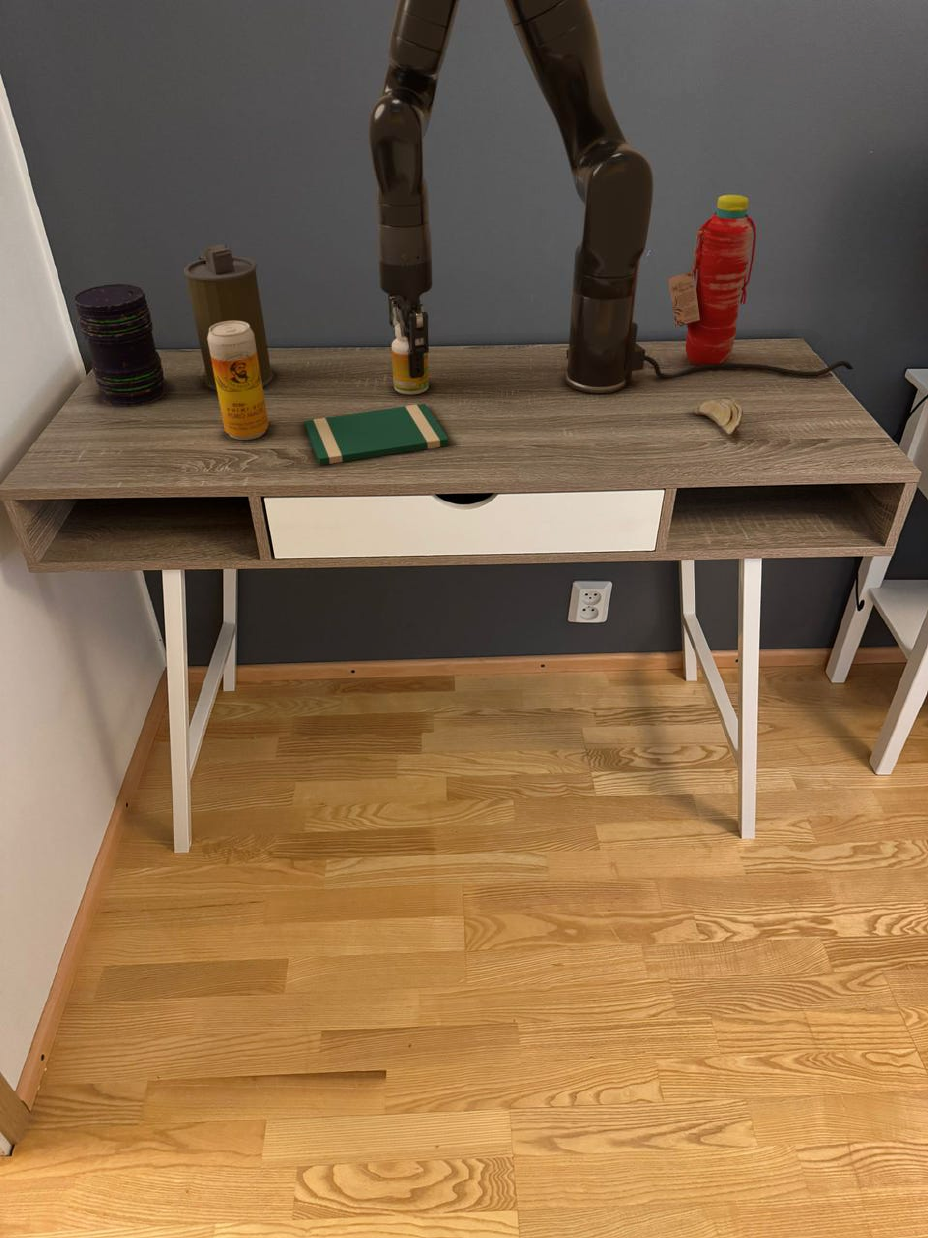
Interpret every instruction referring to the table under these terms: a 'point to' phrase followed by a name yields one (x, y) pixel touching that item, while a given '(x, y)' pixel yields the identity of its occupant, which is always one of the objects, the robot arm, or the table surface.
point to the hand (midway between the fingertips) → (409, 367)
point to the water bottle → (715, 282)
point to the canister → (226, 302)
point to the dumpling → (722, 413)
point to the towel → (374, 433)
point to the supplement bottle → (406, 367)
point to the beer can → (238, 379)
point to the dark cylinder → (121, 344)
